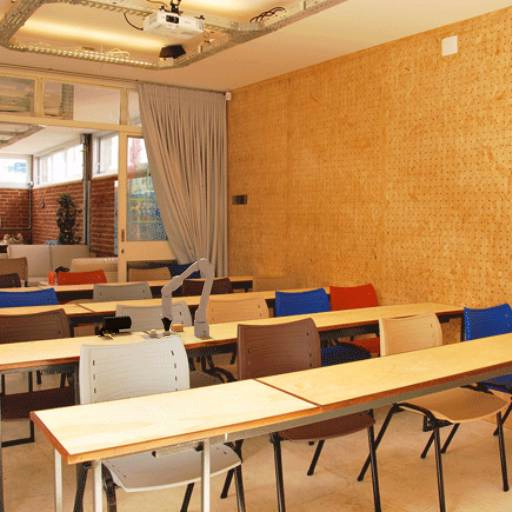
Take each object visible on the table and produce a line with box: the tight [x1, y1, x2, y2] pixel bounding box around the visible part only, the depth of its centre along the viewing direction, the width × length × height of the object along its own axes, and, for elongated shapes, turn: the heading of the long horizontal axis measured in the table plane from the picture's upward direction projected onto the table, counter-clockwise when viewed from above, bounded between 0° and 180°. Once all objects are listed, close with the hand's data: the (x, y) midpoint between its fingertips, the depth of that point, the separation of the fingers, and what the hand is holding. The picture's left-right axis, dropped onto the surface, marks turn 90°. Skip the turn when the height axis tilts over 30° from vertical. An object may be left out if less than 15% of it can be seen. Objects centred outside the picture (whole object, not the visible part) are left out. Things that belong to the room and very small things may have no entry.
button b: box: [149, 329, 157, 334], centre depth 353 cm, size 2×2×2 cm
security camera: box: [97, 315, 133, 337], centre depth 363 cm, size 7×18×10 cm, turn 115°
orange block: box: [170, 323, 184, 333], centre depth 370 cm, size 5×5×4 cm
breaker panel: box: [139, 331, 181, 340], centre depth 355 cm, size 12×20×3 cm, turn 118°
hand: (166, 330), depth 356 cm, fingers closed, pressing on button a
